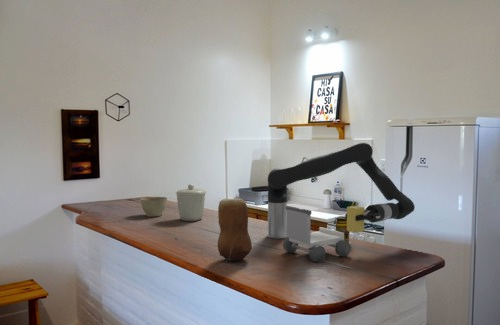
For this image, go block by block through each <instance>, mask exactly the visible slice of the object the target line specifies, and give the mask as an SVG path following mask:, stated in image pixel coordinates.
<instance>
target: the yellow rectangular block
mask: <svg viewBox="0 0 500 325" xmlns="http://www.w3.org/2000/svg"><path fill="white" fill-rule="evenodd" d="M364 209H365V207H364V206H360V205H352V206H351V205H350V206H346V213H347V231H349V232H352V233H361V232H365V221H364V220H360V221H356V220H355V216H356V215H363V214H364Z"/></svg>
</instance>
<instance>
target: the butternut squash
mask: <svg viewBox="0 0 500 325" xmlns="http://www.w3.org/2000/svg"><path fill="white" fill-rule="evenodd" d="M217 209H218V211H217V212H218V216H217V217H218V225H219V228H220V230H219V231H220V232H219V236H218V239H217V250H218V253H219V256H221V257H223V258H224V259H225V260H227V261H231V262H237V263H238V262H241V261H242V260H245V258H246V257H247V256H248V255H249V254H250V252H251V251H252V245H253V244H252V239H251V236H250V234H249V228H248V227H249V211H248V206H247V203H246V201H245V199H243V198H224V199H221V200H219V203H218V208H217Z"/></svg>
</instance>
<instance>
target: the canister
mask: <svg viewBox="0 0 500 325" xmlns="http://www.w3.org/2000/svg"><path fill="white" fill-rule="evenodd" d="M206 194H207V191H206V190H204V189H201V188H195V186H194V184H192V183H191V184H188V185H187V188H183V189H178V190H177V191H175V195H176V200H177V207H178V209H177V210H178V215H179V218H180V220H182V221H183V222H196V221H200V220H202V218H203V217H204V210H205V201H206Z"/></svg>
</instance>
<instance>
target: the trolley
mask: <svg viewBox="0 0 500 325" xmlns="http://www.w3.org/2000/svg"><path fill="white" fill-rule="evenodd" d="M286 210H287V237H285V238H284V240H283V242H282V248H283V250H284V251H285V252H286V253H289V254H293V253H295V252H296V251H297V250H300V251H302V252H303V251H304V252H306V253H309V254H308V255H309V258H310V260H311V261H312V262H315V263H318V264H319V263H321V262H324V260H325V258H326V255H327V252H326V248H325V247H324V246H328V247H331V248H334V249H335V250H334V251H335V253H336V255H337V256H340V257H343V258H346V257H347V256H349V255H350V253H351V250H352V246H351V244H350V243H349V242H350V241H349V242H347V241H344V233H342V232H338V231H336V230H334V229H330V228H326V227H321V226H319V230H318V231H317V230H316V231H311V215H312V210H309V209H305V208H300V207H296V206H295V207H294V206H291V205H287V206H286ZM334 243H337V244H334ZM300 245H301V246H300ZM303 246H304V247H303ZM305 247H307V248H305ZM309 248H310V249H309Z"/></svg>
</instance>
